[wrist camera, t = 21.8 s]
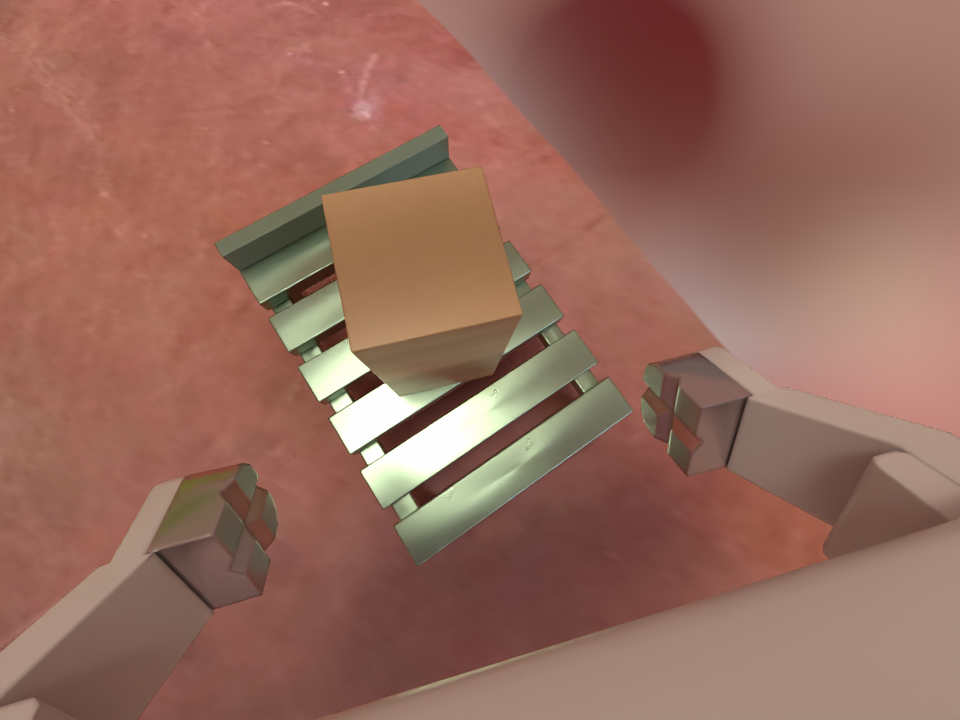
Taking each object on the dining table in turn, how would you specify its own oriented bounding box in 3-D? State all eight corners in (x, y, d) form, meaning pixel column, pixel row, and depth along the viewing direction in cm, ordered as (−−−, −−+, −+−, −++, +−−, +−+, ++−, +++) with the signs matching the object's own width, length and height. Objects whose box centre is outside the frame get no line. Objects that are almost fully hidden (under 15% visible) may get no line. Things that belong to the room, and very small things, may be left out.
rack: (281, 301, 26) (213, 243, 19) (444, 209, 28) (439, 124, 21) (427, 538, 24) (413, 578, 16) (593, 419, 25) (648, 407, 18)
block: (493, 374, 20) (523, 314, 11) (398, 397, 19) (350, 352, 10) (470, 286, 20) (481, 165, 12) (379, 306, 20) (320, 194, 11)
